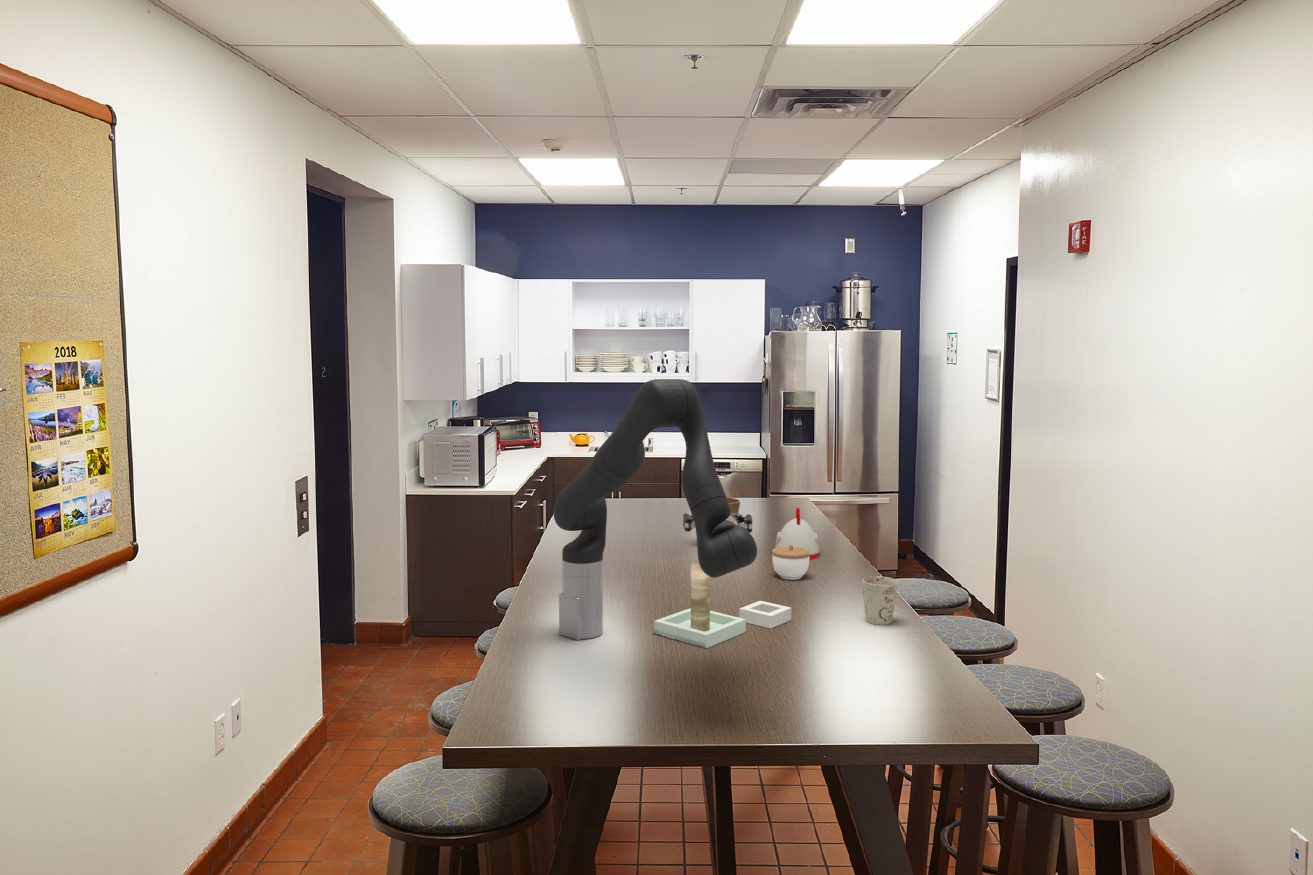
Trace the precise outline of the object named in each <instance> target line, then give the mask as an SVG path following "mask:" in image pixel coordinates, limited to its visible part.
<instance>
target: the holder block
mask: <svg viewBox="0 0 1313 875" xmlns="http://www.w3.org/2000/svg"><path fill="white" fill-rule="evenodd" d="M792 610H793V609H792V607H790V606H786V605H781V604H777V603H772V602H769V601H768V602H767V601H765V600H764V601H763V600H758V601H756V602H753V603H750V604H747V605H745V606H743V607H740V608H739V614H738V618H742V619H746V624H751V625H755V626H759V627H763V628H766V629H773V628H776V627H778V626H780V625H783V624H785V623H787V622H790V621H792Z"/></svg>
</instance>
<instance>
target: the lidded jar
mask: <svg viewBox="0 0 1313 875" xmlns="http://www.w3.org/2000/svg"><path fill="white" fill-rule="evenodd" d="M771 554H772V566H773V569H774V571H775V573H776V574H777V575H778V576H779V578H780V577H781V579H783V580H788V581H797V580H801V578H802V577H803V576H804V575H805V574H806V573H807V571H808V569H809V565H810V560H809V557H810V551H809V550H807V549H804V548H799V547H793V545H789V547H778V548H775V547H774V548H773V549H772V550H771Z"/></svg>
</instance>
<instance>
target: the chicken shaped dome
mask: <svg viewBox="0 0 1313 875" xmlns="http://www.w3.org/2000/svg"><path fill="white" fill-rule="evenodd" d="M800 511H801V510H800V507H795V518H792V519H790V520H789V521H788V522H786V524H785V525H784V526H783V527H782V529H781V530H780V531H778V532H777V534H776V540H775V546H774V548H778V547H789V545H793V547H799V548H804V549H807V550H809V551H810V557H809V561H810V560H811V561H812V560H816V559H819V557H820V542H819V537H818V534H817V532H815V531H814V529H813V528H812V526H811V525H810V524H809V523H808V522H807V521H806V520H804V519H803V518H801V512H800Z"/></svg>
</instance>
